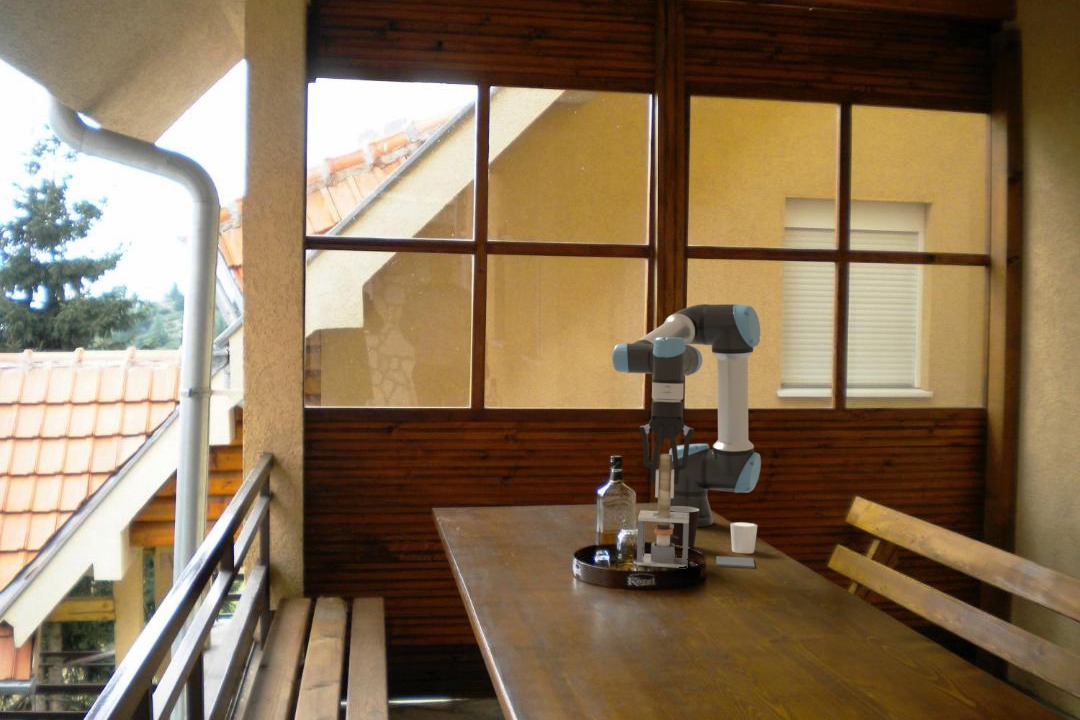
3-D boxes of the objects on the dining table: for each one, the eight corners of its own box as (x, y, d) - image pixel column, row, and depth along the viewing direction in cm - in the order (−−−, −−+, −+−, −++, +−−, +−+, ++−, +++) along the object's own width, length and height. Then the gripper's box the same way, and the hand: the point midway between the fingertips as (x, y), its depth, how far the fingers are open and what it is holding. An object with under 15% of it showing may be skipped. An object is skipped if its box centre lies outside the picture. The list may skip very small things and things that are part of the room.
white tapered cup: (749, 555, 263) (750, 527, 263) (724, 551, 267) (725, 524, 267) (761, 551, 269) (761, 524, 268) (736, 547, 273) (737, 520, 273)
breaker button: (654, 549, 255) (654, 526, 254) (672, 550, 254) (672, 527, 254) (653, 553, 250) (654, 529, 250) (671, 554, 250) (672, 530, 249)
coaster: (716, 558, 259) (716, 556, 259) (752, 560, 257) (752, 558, 257) (716, 566, 250) (716, 564, 250) (754, 568, 248) (754, 566, 248)
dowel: (657, 527, 254) (659, 453, 253) (669, 527, 253) (672, 454, 253) (656, 529, 251) (659, 455, 250) (669, 530, 250) (671, 455, 250)
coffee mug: (700, 551, 266) (701, 512, 266) (666, 550, 267) (667, 511, 266) (694, 541, 278) (695, 504, 278) (662, 540, 278) (663, 503, 278)
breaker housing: (639, 556, 258) (640, 510, 258) (687, 559, 256) (689, 512, 256) (636, 565, 248) (638, 517, 248) (687, 568, 246) (688, 520, 246)
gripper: (633, 400, 249) (630, 497, 249) (700, 402, 246) (697, 501, 247) (635, 398, 256) (632, 492, 257) (700, 400, 254) (697, 496, 254)
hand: (664, 496), depth 252 cm, fingers closed on dowel, 3 cm apart
